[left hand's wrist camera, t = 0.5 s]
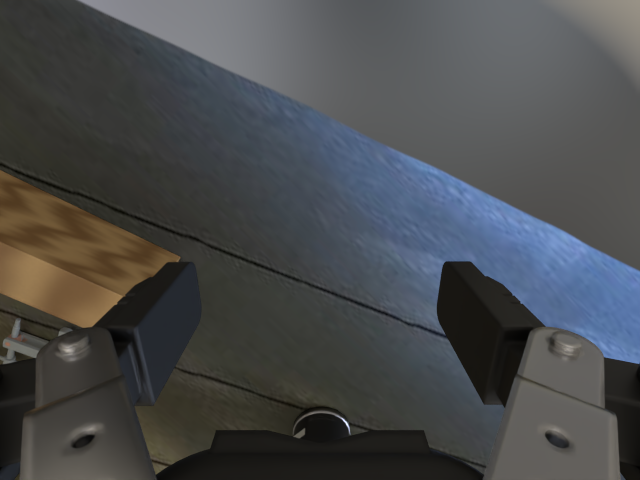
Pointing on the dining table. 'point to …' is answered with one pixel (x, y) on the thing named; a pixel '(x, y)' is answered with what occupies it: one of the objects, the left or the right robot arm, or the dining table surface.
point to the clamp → (24, 343)
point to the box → (67, 255)
